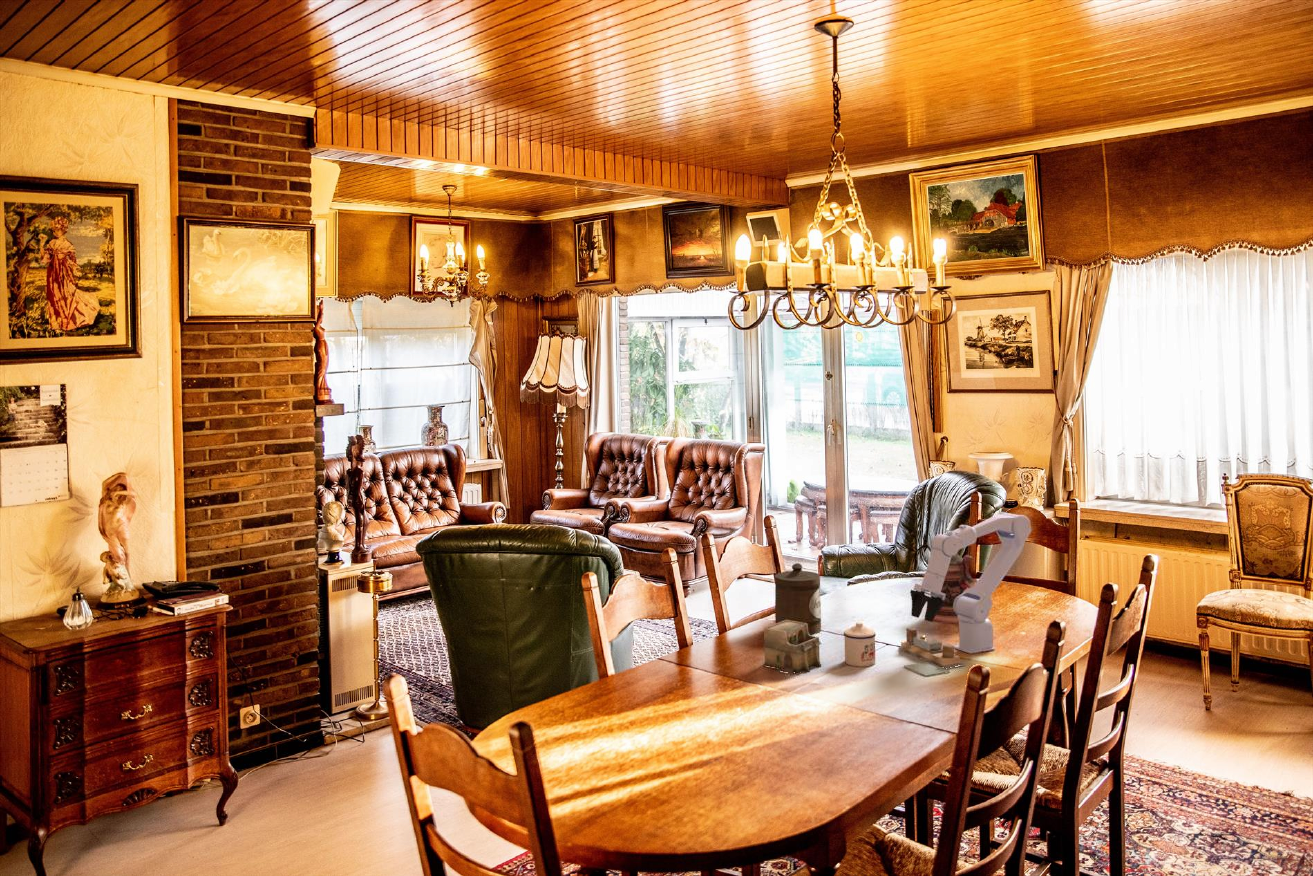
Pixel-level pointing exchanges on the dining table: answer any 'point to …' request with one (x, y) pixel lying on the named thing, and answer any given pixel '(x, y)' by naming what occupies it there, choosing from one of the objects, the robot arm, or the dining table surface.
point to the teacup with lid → (859, 646)
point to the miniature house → (791, 647)
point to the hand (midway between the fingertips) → (921, 619)
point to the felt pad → (926, 669)
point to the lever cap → (927, 643)
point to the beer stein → (954, 587)
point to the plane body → (931, 652)
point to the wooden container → (798, 597)
